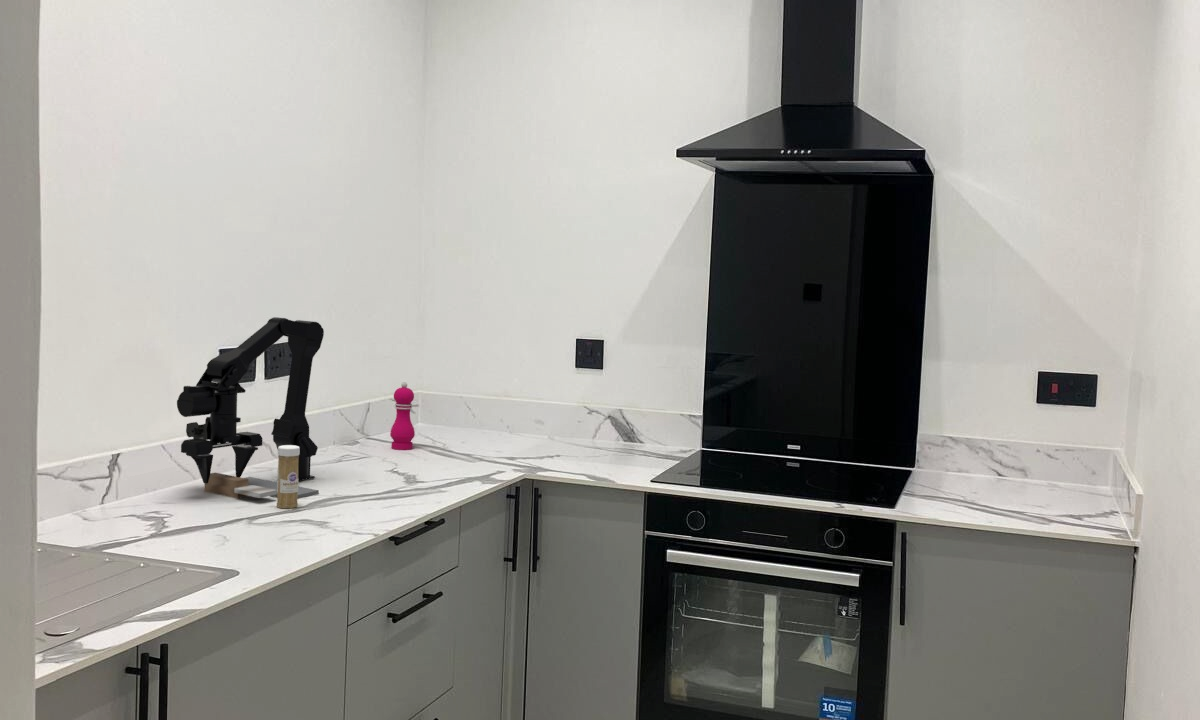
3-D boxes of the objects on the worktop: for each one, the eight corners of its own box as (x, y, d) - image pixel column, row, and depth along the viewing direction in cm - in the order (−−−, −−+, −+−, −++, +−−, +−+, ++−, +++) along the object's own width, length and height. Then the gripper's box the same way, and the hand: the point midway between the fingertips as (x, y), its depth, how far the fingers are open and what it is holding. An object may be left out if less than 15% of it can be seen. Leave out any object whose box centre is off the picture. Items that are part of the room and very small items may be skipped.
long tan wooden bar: (200, 492, 228) (201, 475, 228) (218, 488, 232) (218, 471, 232) (259, 504, 219) (259, 486, 219) (276, 500, 223) (277, 483, 223)
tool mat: (249, 479, 243) (249, 476, 243) (318, 493, 232) (318, 490, 232) (219, 485, 235) (219, 482, 235) (289, 500, 224) (289, 496, 224)
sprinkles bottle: (286, 509, 215) (288, 448, 214) (271, 506, 217) (273, 446, 216) (302, 506, 219) (304, 446, 218) (287, 503, 221) (289, 443, 220)
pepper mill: (388, 446, 300) (390, 380, 298) (412, 446, 302) (415, 381, 300) (390, 450, 293) (393, 383, 291) (415, 450, 295) (418, 383, 293)
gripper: (231, 405, 239) (230, 469, 240) (165, 413, 223) (163, 481, 224) (264, 410, 234) (263, 476, 235) (198, 418, 217) (197, 488, 218)
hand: (222, 480), depth 228 cm, fingers open, 9 cm apart
